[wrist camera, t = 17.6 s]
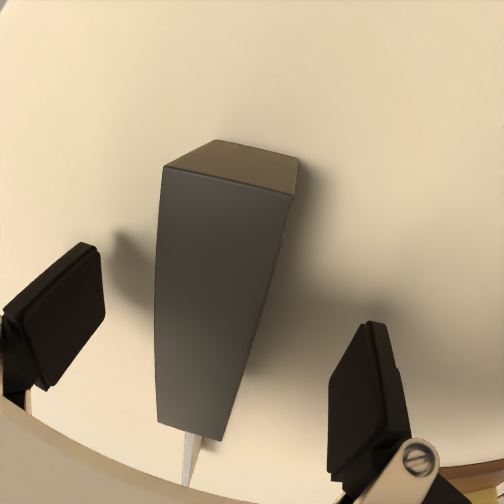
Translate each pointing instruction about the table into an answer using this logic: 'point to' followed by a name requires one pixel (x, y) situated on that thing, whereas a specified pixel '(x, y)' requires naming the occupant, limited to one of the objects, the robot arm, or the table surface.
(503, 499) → the cup
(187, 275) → the knife
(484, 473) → the board
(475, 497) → the butter stick
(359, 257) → the table surface
